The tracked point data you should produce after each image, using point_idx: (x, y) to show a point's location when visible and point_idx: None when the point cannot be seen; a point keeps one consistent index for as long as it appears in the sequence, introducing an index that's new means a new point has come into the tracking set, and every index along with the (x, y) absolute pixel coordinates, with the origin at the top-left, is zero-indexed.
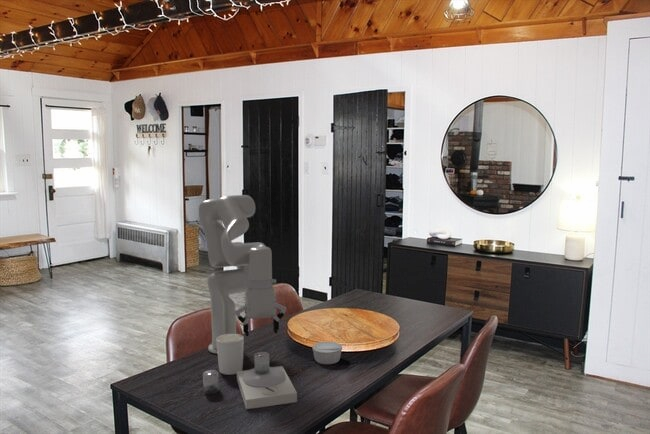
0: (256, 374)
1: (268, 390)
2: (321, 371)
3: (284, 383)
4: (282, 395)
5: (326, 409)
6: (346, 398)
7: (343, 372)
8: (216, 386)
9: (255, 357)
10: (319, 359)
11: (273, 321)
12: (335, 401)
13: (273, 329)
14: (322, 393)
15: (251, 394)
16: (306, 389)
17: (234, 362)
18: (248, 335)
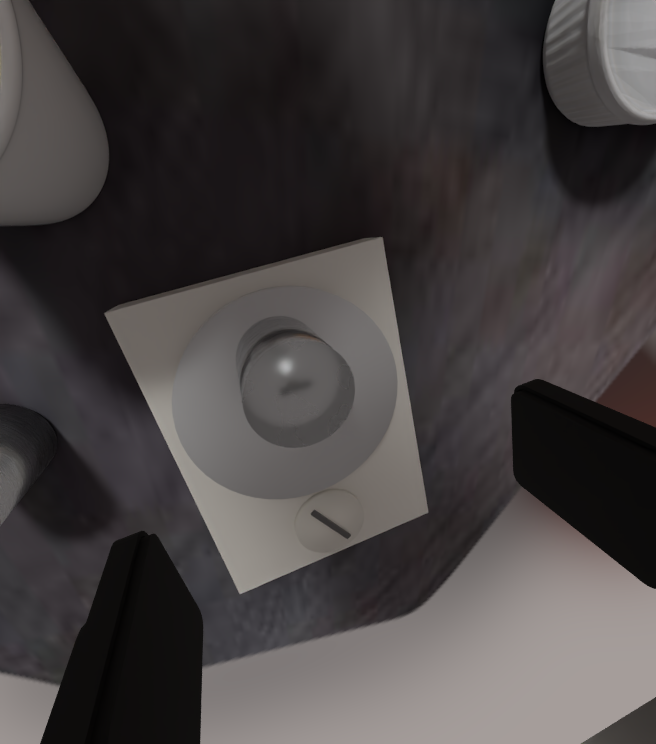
0: None
1: (326, 530)
2: (534, 216)
3: (387, 444)
4: (376, 532)
5: (485, 518)
6: None
7: (607, 235)
8: (37, 477)
9: (256, 430)
10: (570, 102)
11: (648, 478)
12: None
13: (523, 405)
14: (495, 423)
15: (255, 553)
16: (450, 396)
17: (41, 216)
18: (200, 616)
